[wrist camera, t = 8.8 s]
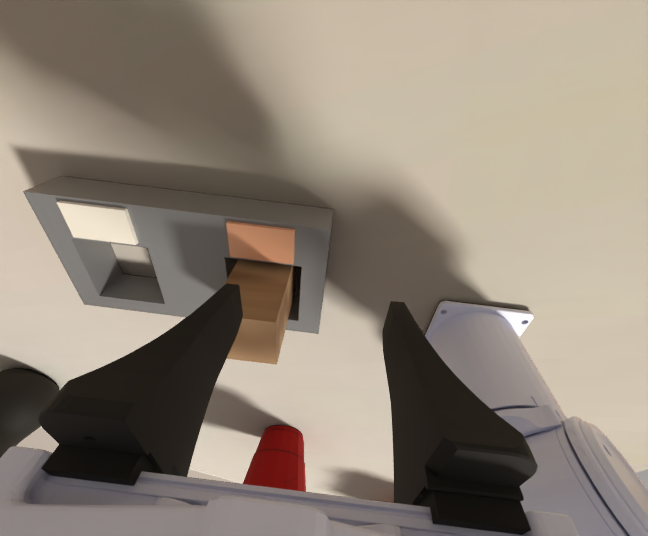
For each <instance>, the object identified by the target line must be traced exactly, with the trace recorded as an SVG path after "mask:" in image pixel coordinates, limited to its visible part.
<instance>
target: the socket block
mask: <svg viewBox="0 0 648 536" xmlns="http://www.w3.org/2000/svg"><path fill="white" fill-rule="evenodd" d="M23 192H24V194H25V196H26V198H27V200H28V202H29V203H30V205H31V207H32V209H33V211H34V213H35V214H36V216H37V218H38V220H39V222H40V224H41V226H42V227H43V229H44V231H45V233H46V235H47V237H48V238H49V240H50V242H51V244H52V246H53V248H54V250H55V251H56V253H57V255H58V257H59V259H60V261H61V262H62V264H63V266H64V268H65V270H66V272H67V274H68V275H69V277H70V279H71V281H72V283H73V285H74V286H75V288H76V290H77V292H78V294H79V296H80V298H81V299H82V301H83V303H84V304H85V305H93V306H101V307H109V308H117V309H125V310H133V311H141V312H149V313H157V314H165V315H173V316H180V317H187V316H189V315H190V314H191V313H193V312H194V311H195V310H196V309H197V308H199V307H200V306H201V305H202V304H203V303H205V302H206V301H207V300H208V299H209V298H210V297H211V296H213V295H214V294H215V293H216V292H217V291H218V290H219V289H220V288H222V287H223V286H224V284H225V282H226V281H227V279H228V277H229V275H230V274H231V272H232V270H233V268H234V266H235V265H236V263H237V261H238V259H243V260H251V261H259V262H267V263H276V264H284V265H292V266H300V267H302V269H301V285H300V296H296V295H294V297H293V301H292V305H291V309H290V313H289V317H288V321H287V325H286V329H285V330H292V331H300V332H308V333H316V334H318V333H319V325H320V317H321V309H322V301H323V293H324V285H325V277H326V268H327V260H328V252H329V244H330V236H331V228H332V219H333V211H334V209H328V208H320V207H312V206H303V205H295V204H287V203H279V202H270V201H262V200H254V199H246V198H237V197H229V196H221V195H213V194H204V193H196V192H188V191H180V190H171V189H163V188H155V187H147V186H138V185H130V184H122V183H114V182H105V181H97V180H89V179H81V178H72V177H64V176H60V177H57V178H55V179H52V180H50V181H48V182H45V183H43V184H40V185H38V186H35V187H33V188H30V189H28V190H25V191H23ZM110 243H114V244H122V245H130V246H138V247H146V248H148V251H149V254H150V257H151V260H152V264H153V267H154V270H155V273H156V276H157V278H151V277H143V276H135V275H127V274H122V271H121V269H120V266H119V264H118V261H117V259H116V256H115V254H114V251H113V249H112V246H111V244H110Z"/></svg>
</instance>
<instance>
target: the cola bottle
mask: <svg viewBox="0 0 648 536" xmlns="http://www.w3.org/2000/svg"><path fill="white" fill-rule="evenodd" d="M58 392H59V388H58V387H57V385H56V384H55V383H54V382H53V381H51V380H50V379H48V378H47V377H45V376H43V375H41V374H39V373H36V372H33V371H30V370H25V369H7V370H4V371H1V372H0V458H1V457H2V456H3V455H4V453H5V452H6V451H7V450H8V449H9V448H10V447H13V446H16V445H17V444H18V443H19V442H20V441H22V440H23V439H24V438H25V437H27V436H28V435H30V434H31V433H32V432H34V431H35V430H36V429H38V428H39V427H40V426H41V425H40V424H39V420H38V416H39V414H40V413H41V411H42V410H43V409H44V408H45V407H46V406H47V405H48V403H49V402H50V401H51V400H52V399H53V398H54V397H55V395H56V394H57V393H58Z"/></svg>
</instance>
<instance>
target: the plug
mask: <svg viewBox="0 0 648 536" xmlns="http://www.w3.org/2000/svg"><path fill="white" fill-rule="evenodd" d="M296 269H297V266H292V265H284V264H276V263H267V262H259V261H251V260H243V259H238V261H237V263H236V265H235V266H234V268H233V270H232V272H231V274H230V275H229V277H228V279H227V281H226V282H225V284H226V283H228V284H237V285H239V287H240V295H241V303H242V310H243V318H242V321H241V324H240V328H239V331H238V334H237V336H236V339H235V341H234V343H233V345H232V347H231V350H230V352H229V354H228V356H227V358H228V359H236V360H244V361H252V362H260V363H269V364H277V361H278V357H279V353H280V349H281V345H282V341H283V337H284V333H285V329H286V325H287V321H288V317H289V313H290V309H291V305H292V301H293V297H294V293H295V288H296ZM225 284H224V285H225Z"/></svg>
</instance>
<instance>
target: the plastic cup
mask: <svg viewBox="0 0 648 536" xmlns="http://www.w3.org/2000/svg"><path fill="white" fill-rule="evenodd" d="M243 484H247V485H255V486H263V487H271V488H279V489H287V490H295V491H303V492H306V485H305V463H304V441H303V436H302V433H301V432H299V431H298V430H296V429H294V428H292V427H288V426H283V425H275V426H270V427H268V428H266V430H265V432H264V433H263V435H262V438H261V440H260V443H259V445H258V448H257V450H256V453H255V454H254V456H253V459H252V461H251V464H250V467H249V469H248V472H247V474H246V477H245V480H244V482H243Z"/></svg>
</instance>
